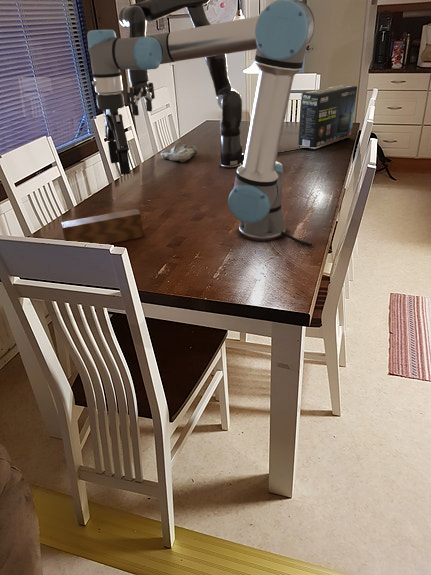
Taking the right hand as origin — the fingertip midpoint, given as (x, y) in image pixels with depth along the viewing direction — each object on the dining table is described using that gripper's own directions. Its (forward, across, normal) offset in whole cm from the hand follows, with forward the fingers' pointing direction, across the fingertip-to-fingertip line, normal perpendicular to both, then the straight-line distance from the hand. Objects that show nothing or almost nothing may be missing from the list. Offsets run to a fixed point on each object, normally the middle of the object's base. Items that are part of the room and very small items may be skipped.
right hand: (120, 168), depth 139 cm
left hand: (-6, -48, +21) cm, 53 cm away
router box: (+23, -68, +124) cm, 143 cm away
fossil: (+23, -81, +45) cm, 95 cm away
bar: (+23, 0, -8) cm, 24 cm away
